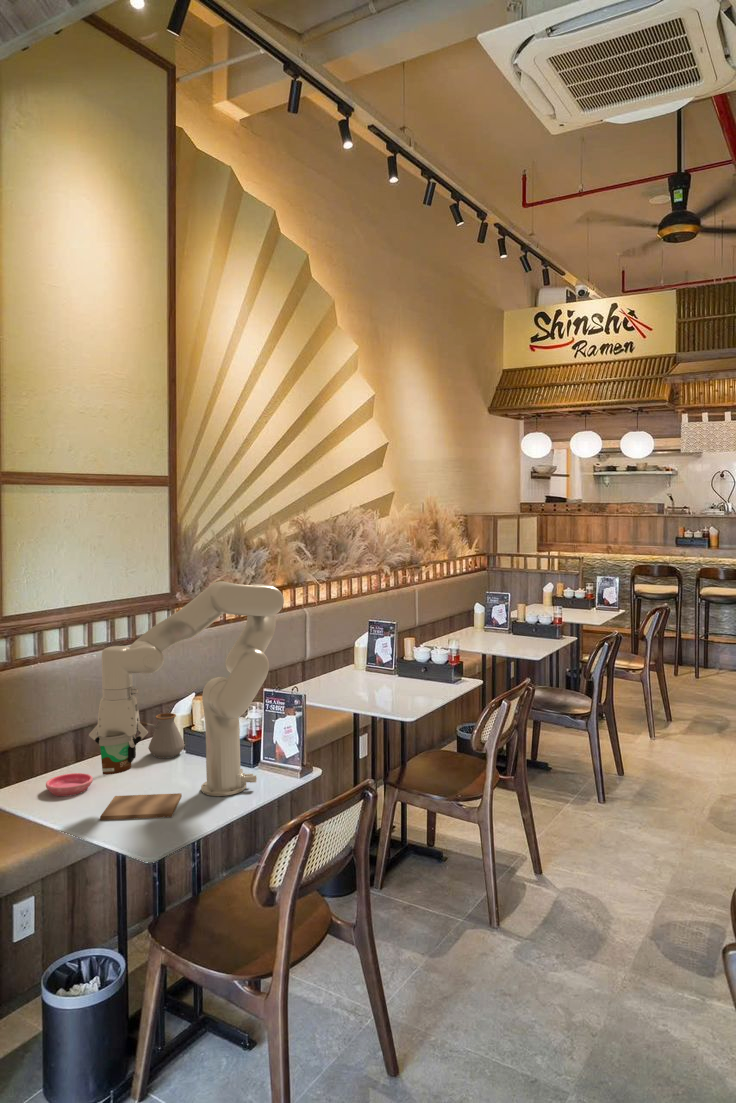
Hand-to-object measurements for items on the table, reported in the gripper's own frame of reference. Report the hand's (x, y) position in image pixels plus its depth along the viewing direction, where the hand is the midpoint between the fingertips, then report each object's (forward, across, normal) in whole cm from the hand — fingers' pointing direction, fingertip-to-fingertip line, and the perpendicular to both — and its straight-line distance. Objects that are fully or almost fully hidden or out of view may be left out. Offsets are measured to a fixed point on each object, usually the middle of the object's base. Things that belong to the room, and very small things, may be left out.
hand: (119, 760), depth 200 cm
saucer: (+13, +18, -16) cm, 28 cm away
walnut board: (+13, -6, 0) cm, 14 cm away
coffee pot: (+13, 0, -42) cm, 44 cm away
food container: (+2, -1, 0) cm, 3 cm away
